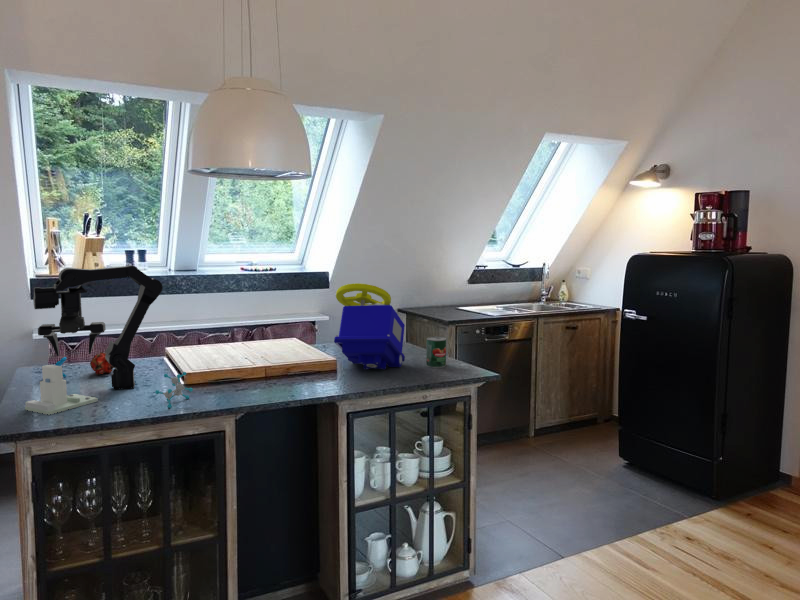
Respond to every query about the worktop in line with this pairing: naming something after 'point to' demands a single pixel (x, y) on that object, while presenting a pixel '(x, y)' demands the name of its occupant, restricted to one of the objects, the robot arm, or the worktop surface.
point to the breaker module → (53, 385)
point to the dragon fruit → (100, 364)
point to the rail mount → (49, 408)
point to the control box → (370, 328)
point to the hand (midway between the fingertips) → (74, 354)
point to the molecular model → (177, 391)
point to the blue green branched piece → (61, 364)
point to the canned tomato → (436, 352)
